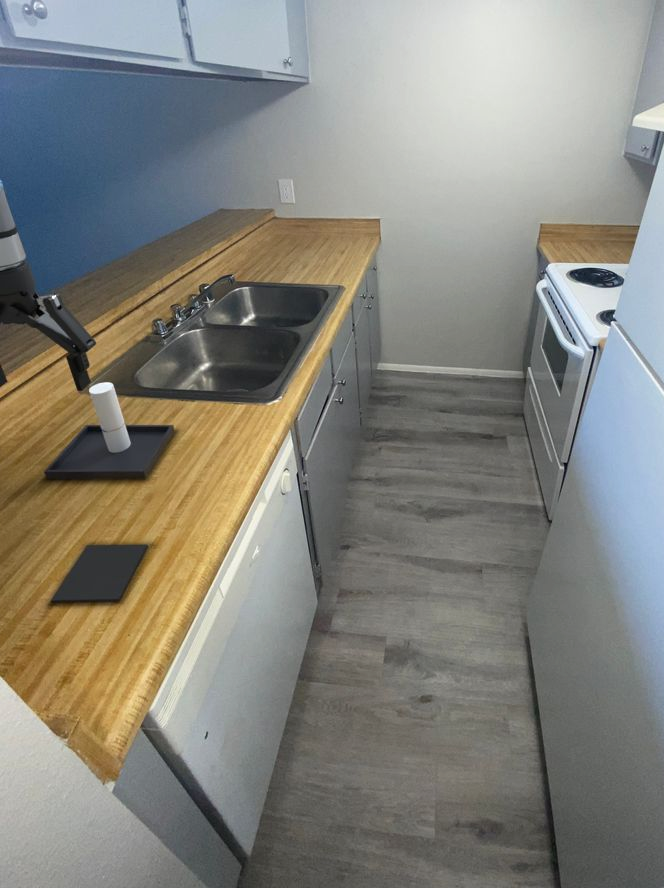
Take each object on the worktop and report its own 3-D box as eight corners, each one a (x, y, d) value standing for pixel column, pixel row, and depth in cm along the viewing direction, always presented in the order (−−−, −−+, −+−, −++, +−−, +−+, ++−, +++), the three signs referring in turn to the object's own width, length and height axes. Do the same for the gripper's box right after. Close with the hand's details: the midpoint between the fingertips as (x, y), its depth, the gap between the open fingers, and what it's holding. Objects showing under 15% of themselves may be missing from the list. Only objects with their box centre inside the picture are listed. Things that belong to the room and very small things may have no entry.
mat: (51, 602, 71) (50, 600, 71) (87, 547, 80) (86, 545, 80) (119, 601, 72) (118, 599, 72) (148, 546, 81) (147, 544, 80)
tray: (46, 479, 94) (43, 471, 93) (88, 431, 107) (86, 424, 106) (145, 478, 95) (143, 471, 94) (175, 431, 108) (173, 424, 107)
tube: (133, 439, 105) (116, 381, 98) (126, 451, 101) (108, 392, 94) (112, 440, 104) (94, 382, 97) (104, 453, 100) (85, 394, 93)
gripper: (97, 258, 73) (129, 375, 83) (-72, 254, 72) (-20, 374, 82) (69, 274, 67) (107, 399, 77) (-118, 270, 65) (-55, 398, 75)
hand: (42, 386), depth 79 cm, fingers open, 13 cm apart
